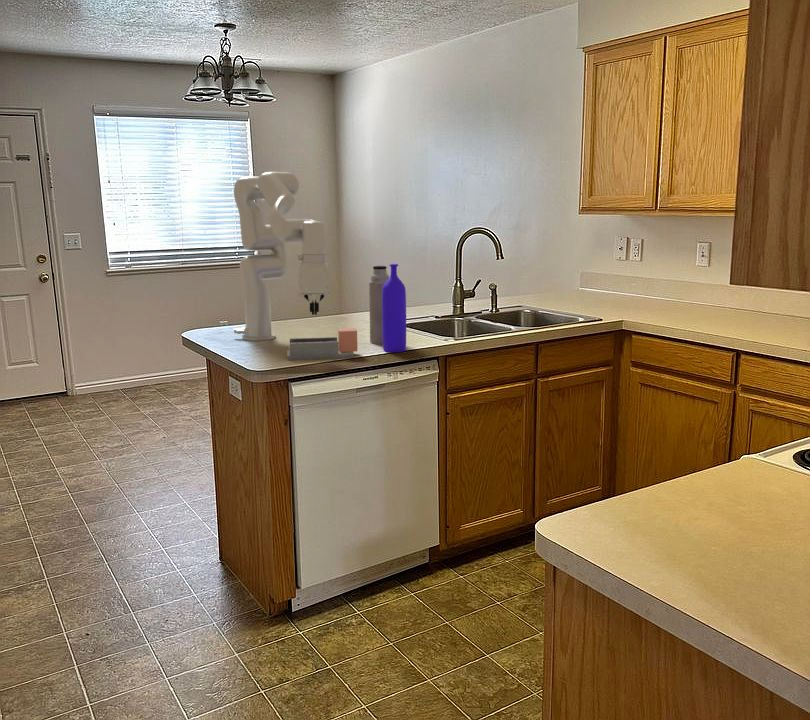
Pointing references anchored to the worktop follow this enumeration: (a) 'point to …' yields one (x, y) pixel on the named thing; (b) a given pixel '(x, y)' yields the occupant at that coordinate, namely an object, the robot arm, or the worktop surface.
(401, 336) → the bottle
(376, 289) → the thermos bottle
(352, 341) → the block
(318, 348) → the chute
